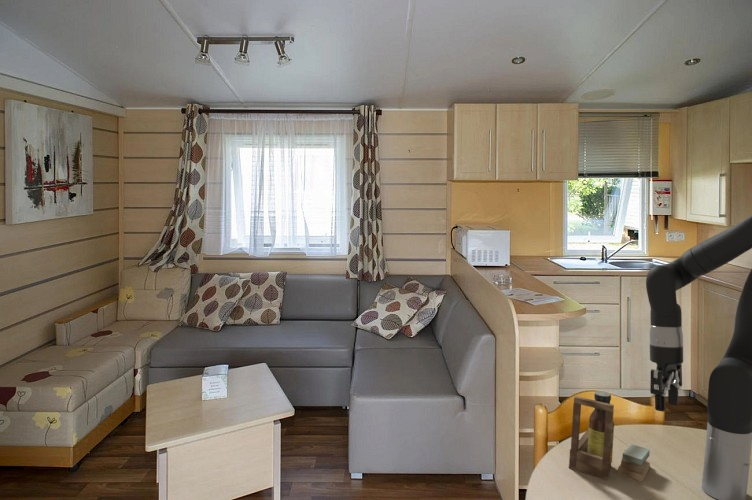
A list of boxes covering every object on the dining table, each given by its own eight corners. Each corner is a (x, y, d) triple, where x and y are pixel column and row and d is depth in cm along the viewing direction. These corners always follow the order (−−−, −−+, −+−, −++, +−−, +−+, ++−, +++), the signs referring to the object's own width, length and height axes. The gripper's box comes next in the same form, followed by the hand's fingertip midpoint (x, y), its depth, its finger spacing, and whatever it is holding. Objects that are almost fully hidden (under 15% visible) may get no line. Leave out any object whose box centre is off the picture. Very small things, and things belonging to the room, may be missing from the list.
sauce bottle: (613, 473, 143) (619, 399, 141) (588, 470, 144) (593, 397, 142) (608, 460, 150) (613, 390, 147) (584, 458, 151) (588, 388, 148)
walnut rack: (621, 456, 152) (626, 388, 150) (607, 480, 140) (612, 406, 137) (585, 446, 158) (589, 380, 155) (568, 467, 146) (572, 397, 143)
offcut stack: (649, 467, 147) (651, 448, 146) (642, 482, 139) (644, 462, 139) (624, 460, 150) (626, 441, 150) (616, 474, 143) (618, 454, 142)
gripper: (671, 348, 132) (672, 416, 132) (692, 342, 141) (693, 405, 141) (639, 345, 138) (640, 410, 137) (661, 338, 147) (662, 399, 147)
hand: (667, 407), depth 139 cm, fingers open, 8 cm apart
